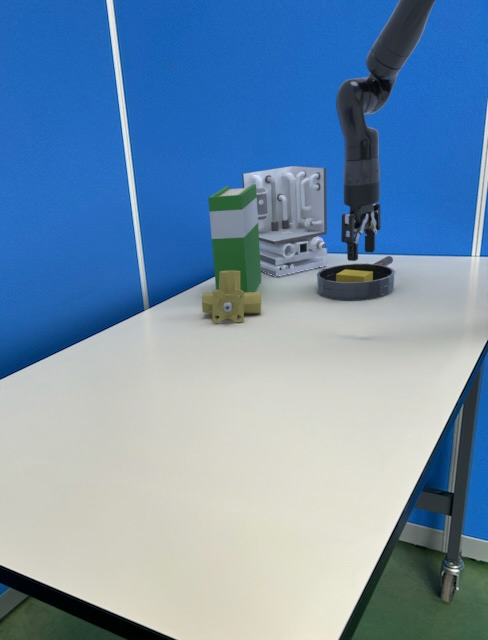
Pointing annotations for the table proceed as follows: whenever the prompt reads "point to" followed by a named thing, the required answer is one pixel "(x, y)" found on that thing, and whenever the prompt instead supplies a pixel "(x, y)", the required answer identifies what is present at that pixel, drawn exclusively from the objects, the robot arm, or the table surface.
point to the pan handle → (385, 261)
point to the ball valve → (230, 299)
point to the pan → (356, 283)
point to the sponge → (354, 276)
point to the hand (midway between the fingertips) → (361, 256)
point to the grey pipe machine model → (290, 217)
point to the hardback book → (236, 235)
